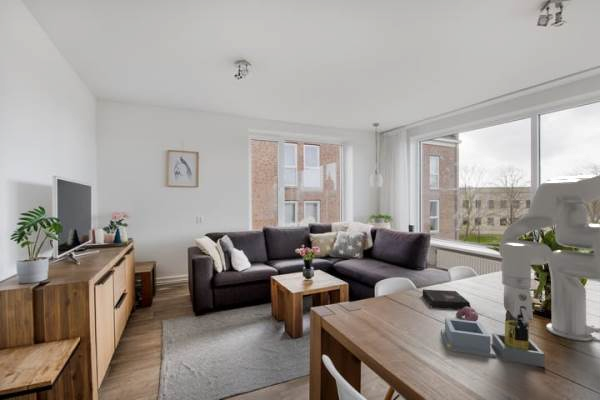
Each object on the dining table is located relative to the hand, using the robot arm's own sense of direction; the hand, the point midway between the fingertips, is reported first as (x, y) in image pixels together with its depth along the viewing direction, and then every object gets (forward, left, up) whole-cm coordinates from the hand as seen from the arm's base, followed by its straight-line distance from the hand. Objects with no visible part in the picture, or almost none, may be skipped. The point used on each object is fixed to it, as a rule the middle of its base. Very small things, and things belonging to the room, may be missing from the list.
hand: (516, 334), depth 91 cm
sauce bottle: (0, 0, -7) cm, 7 cm away
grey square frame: (0, 0, -7) cm, 7 cm away
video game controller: (+9, -24, -7) cm, 26 cm away
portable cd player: (+14, -45, -7) cm, 48 cm away
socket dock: (+14, -3, -7) cm, 16 cm away
